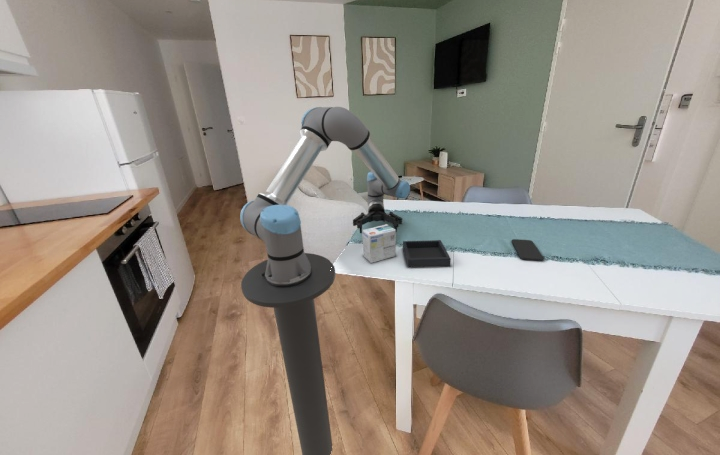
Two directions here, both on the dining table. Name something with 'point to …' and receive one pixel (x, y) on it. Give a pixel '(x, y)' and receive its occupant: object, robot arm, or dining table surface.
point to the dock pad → (426, 254)
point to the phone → (527, 250)
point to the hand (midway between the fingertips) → (378, 229)
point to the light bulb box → (379, 243)
